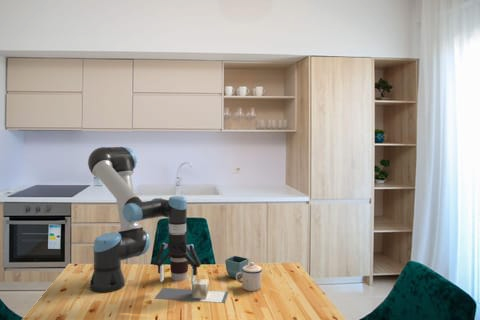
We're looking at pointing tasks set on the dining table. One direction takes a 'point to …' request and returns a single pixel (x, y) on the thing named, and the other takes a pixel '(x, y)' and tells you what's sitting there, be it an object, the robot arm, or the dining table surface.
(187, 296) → the charcoal mat
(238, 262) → the flower pot
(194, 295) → the birch cube
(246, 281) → the teacup with lid
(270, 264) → the dining table surface
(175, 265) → the coffee cup
